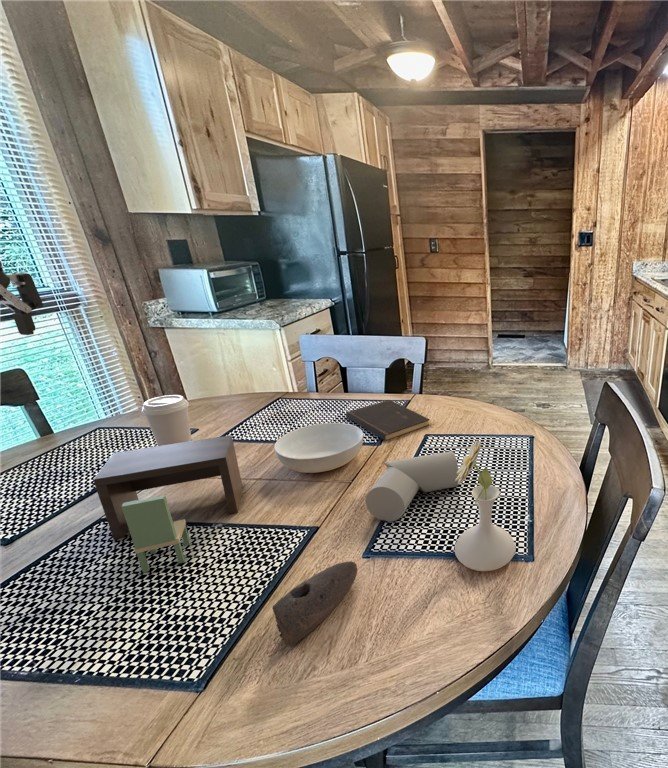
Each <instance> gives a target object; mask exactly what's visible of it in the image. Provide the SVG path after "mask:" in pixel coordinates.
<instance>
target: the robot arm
mask: <svg viewBox="0 0 668 768" xmlns="http://www.w3.org/2000/svg"><path fill="white" fill-rule="evenodd" d="M10 284H11V285H12V286H13V287H15V288H16V290H17V293H18V295H19V297H18V296H17V295H16V294H14V293H13V292H11V291H9V289H8V288H9V286H10ZM0 304H1V305H4V306H5V307H7V308H8V309H10V310H11V311H13V313H11V315H12V318H13V320H14V324H15V326H16V328H17V331H18V333H19V335H22V336H31V335H34V334H35V331H36V325H35V322H34V319H33V316H32V311H34V310H36V309H41V308H43V307H44V303H43V301H42V298H41V295H40V293H39V291H38V289H37V286H36V284H35V281H34V279H33V277H32V274H30V273H27V272H13V273H11V274H7V273H6V272H5V271H4V264H3V261H2V258H1V257H0Z"/></svg>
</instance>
